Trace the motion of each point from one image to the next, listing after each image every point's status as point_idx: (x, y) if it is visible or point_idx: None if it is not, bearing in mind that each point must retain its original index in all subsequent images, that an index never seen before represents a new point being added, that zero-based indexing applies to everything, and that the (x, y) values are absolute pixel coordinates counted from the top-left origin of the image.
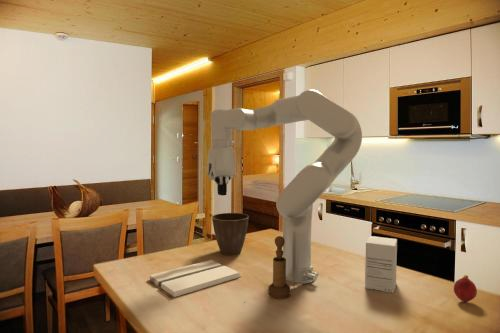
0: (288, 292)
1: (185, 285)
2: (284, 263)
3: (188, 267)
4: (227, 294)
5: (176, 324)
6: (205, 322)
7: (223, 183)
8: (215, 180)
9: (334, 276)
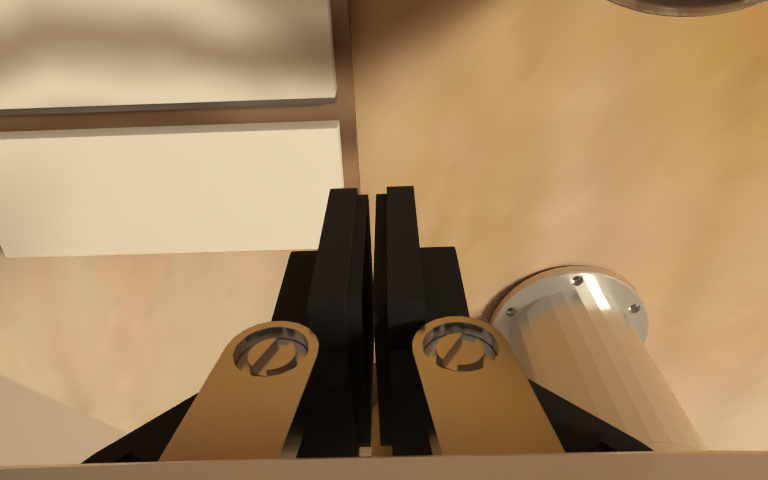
0: None
1: (64, 231)
2: None
3: (142, 22)
4: (238, 296)
5: (11, 362)
6: (96, 393)
7: (390, 428)
8: (156, 453)
9: (677, 393)
